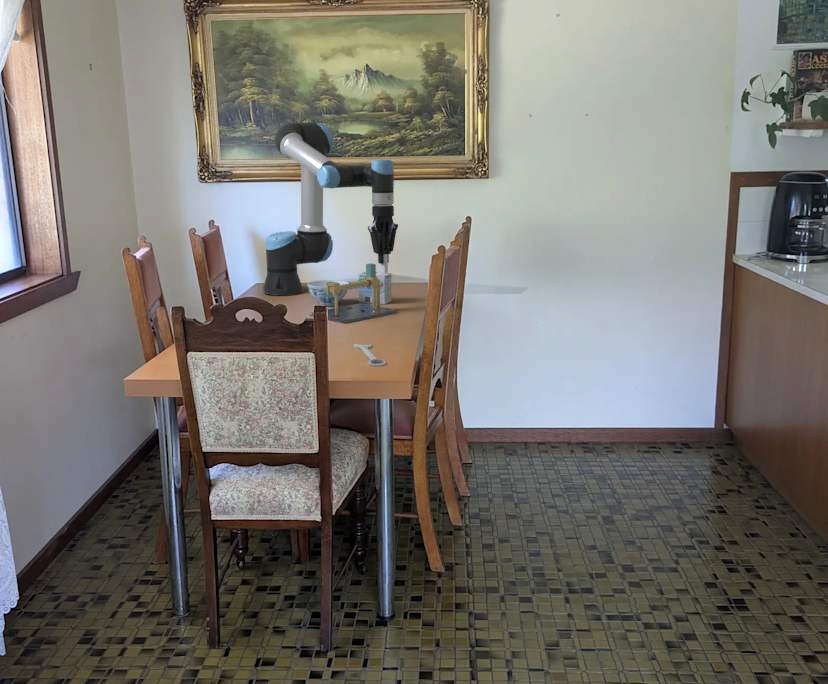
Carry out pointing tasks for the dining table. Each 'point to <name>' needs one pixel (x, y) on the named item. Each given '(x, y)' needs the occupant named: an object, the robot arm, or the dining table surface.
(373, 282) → the sliding head
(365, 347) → the wrench
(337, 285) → the divider frame
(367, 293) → the light bulb box
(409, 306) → the dining table surface
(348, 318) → the flange plate
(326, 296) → the chinaware
